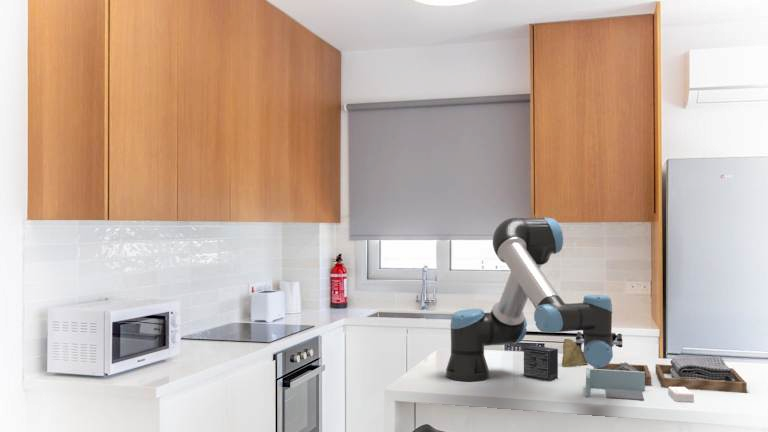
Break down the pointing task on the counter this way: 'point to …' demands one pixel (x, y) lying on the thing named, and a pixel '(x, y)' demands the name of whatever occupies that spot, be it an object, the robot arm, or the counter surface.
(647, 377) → the frame
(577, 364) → the rock
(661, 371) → the towel frame
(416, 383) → the counter surface
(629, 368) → the fossilized seashell
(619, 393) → the coaster
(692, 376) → the towel
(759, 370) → the counter surface
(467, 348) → the robot arm
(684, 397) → the soap
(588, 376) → the divider
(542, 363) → the small box
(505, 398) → the counter surface
